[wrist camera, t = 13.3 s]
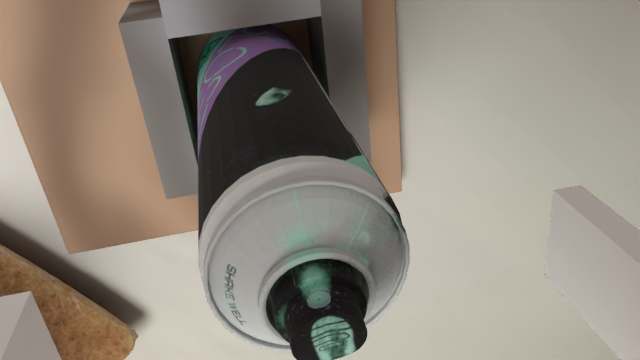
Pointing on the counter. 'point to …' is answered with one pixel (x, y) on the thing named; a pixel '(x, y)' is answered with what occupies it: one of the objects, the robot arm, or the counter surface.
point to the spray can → (288, 204)
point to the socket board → (112, 123)
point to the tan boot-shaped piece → (67, 312)
